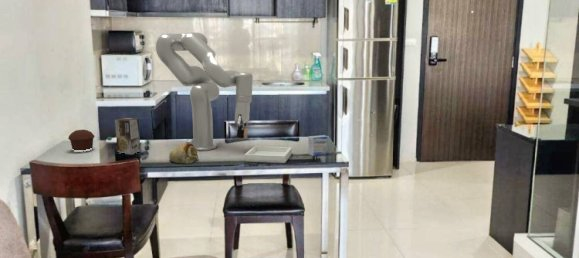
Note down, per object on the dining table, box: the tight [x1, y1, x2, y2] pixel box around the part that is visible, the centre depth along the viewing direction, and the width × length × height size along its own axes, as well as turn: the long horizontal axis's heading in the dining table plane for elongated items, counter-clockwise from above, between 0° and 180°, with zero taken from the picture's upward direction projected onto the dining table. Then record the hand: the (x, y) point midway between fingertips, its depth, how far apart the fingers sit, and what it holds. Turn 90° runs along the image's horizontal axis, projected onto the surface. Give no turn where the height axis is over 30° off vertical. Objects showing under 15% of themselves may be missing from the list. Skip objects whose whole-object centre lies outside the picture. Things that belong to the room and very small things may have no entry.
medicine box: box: [308, 134, 329, 157], centre depth 233 cm, size 8×4×9 cm, turn 117°
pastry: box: [168, 143, 199, 165], centre depth 222 cm, size 14×12×8 cm
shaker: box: [237, 124, 249, 140], centre depth 240 cm, size 5×5×6 cm
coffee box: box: [114, 117, 141, 155], centre depth 236 cm, size 9×6×16 cm
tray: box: [243, 145, 293, 164], centre depth 227 cm, size 18×18×3 cm
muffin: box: [67, 129, 96, 150], centre depth 241 cm, size 12×11×10 cm
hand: (241, 136), depth 240 cm, fingers closed on shaker, 5 cm apart
